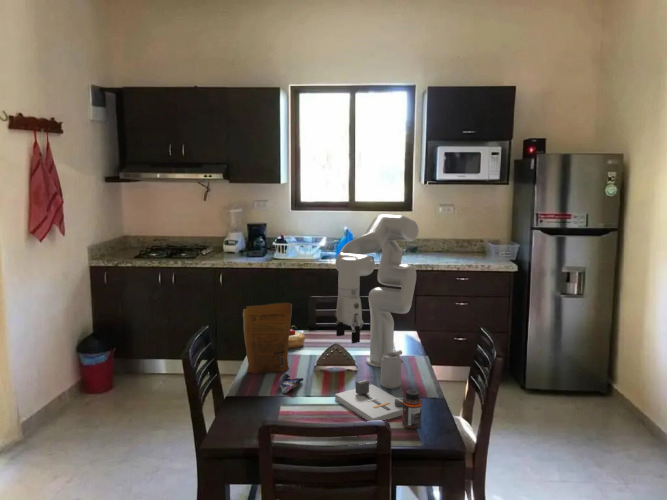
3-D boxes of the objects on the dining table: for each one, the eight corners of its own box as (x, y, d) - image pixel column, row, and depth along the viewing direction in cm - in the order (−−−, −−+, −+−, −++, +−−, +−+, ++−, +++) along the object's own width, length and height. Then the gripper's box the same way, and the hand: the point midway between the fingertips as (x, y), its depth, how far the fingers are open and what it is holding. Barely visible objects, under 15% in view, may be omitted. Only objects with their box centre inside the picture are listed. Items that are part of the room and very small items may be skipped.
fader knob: (364, 390, 199) (365, 378, 198) (368, 392, 197) (369, 381, 196) (355, 392, 197) (355, 381, 196) (359, 395, 195) (359, 383, 194)
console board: (371, 389, 206) (372, 379, 205) (411, 412, 188) (411, 401, 187) (335, 399, 197) (335, 389, 197) (373, 424, 179) (373, 413, 179)
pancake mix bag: (293, 373, 221) (292, 304, 216) (244, 376, 218) (242, 306, 214) (292, 367, 227) (291, 299, 223) (244, 369, 225) (242, 301, 220)
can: (402, 383, 212) (403, 352, 210) (398, 391, 205) (399, 359, 203) (383, 380, 214) (383, 350, 212) (378, 388, 207) (378, 357, 205)
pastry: (273, 347, 252) (272, 328, 251) (288, 340, 262) (287, 321, 261) (294, 351, 246) (293, 332, 245) (310, 343, 256) (309, 324, 254)
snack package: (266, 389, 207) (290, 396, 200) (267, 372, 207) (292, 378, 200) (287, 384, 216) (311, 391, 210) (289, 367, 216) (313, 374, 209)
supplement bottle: (400, 421, 181) (401, 387, 180) (418, 420, 182) (419, 387, 180) (404, 429, 176) (405, 395, 174) (423, 429, 176) (424, 395, 174)
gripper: (371, 295, 194) (370, 344, 196) (344, 286, 208) (343, 331, 211) (353, 298, 190) (352, 347, 192) (326, 288, 204) (326, 334, 207)
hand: (347, 339), depth 201 cm, fingers open, 9 cm apart
